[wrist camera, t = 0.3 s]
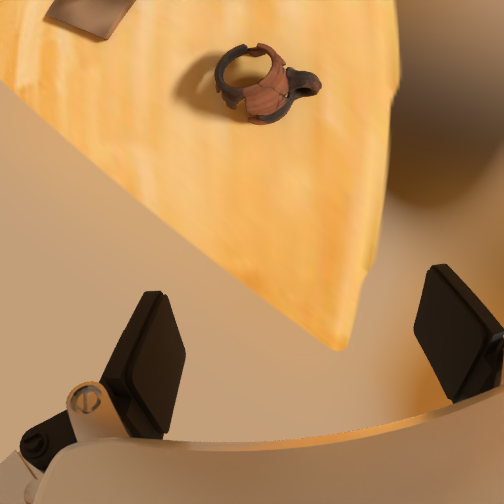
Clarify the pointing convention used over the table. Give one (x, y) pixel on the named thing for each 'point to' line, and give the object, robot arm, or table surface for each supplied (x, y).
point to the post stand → (91, 14)
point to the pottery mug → (266, 86)
